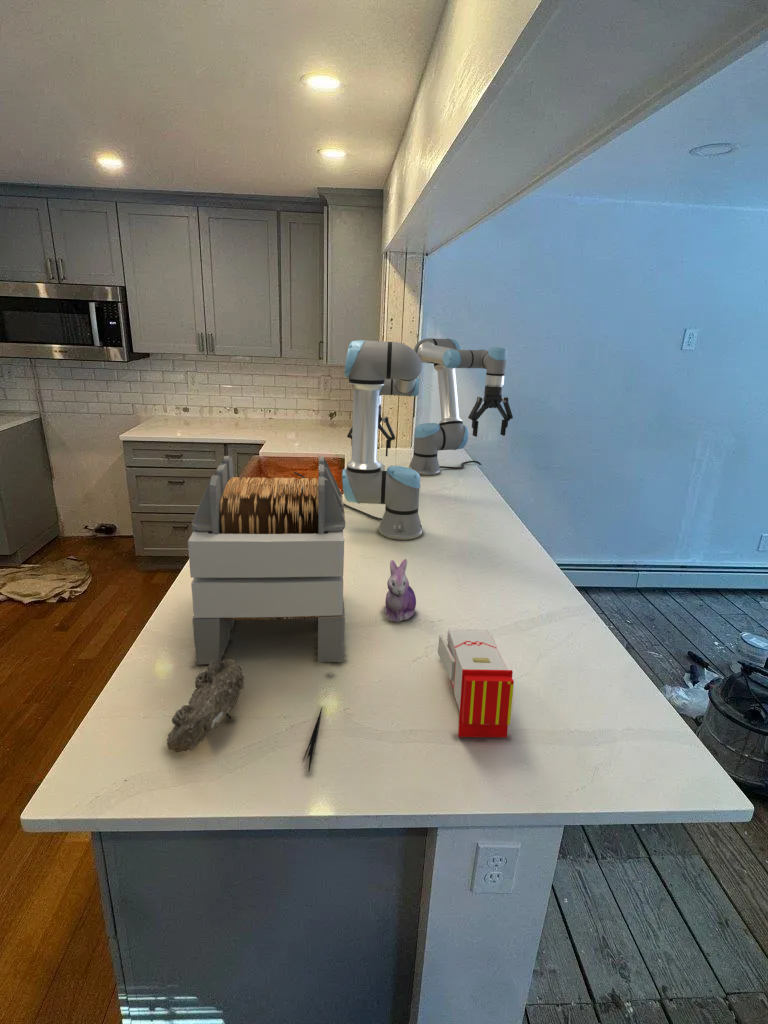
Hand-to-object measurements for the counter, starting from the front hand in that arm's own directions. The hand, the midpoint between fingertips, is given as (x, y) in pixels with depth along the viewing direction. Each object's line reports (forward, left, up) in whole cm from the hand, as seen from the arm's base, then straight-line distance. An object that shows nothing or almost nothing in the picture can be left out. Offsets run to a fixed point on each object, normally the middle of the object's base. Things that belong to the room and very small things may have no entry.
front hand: (370, 454), depth 242 cm
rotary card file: (+73, -90, -15) cm, 117 cm away
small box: (-2, +5, -15) cm, 16 cm away
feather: (+108, -101, -15) cm, 148 cm away
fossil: (+95, -116, -15) cm, 151 cm away
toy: (+120, -71, -16) cm, 140 cm away
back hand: (+29, +42, +9) cm, 52 cm away
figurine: (+88, -61, -15) cm, 108 cm away
